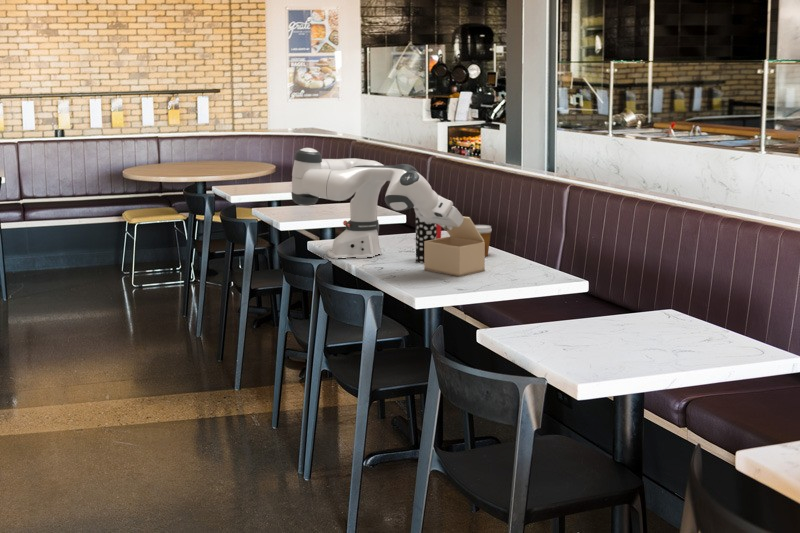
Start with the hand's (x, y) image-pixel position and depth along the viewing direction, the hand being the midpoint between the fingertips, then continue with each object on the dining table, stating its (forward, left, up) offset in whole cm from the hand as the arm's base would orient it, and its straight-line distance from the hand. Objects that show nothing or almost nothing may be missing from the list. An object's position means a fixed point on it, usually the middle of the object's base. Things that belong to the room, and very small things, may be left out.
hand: (448, 228), depth 362 cm
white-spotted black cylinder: (-2, +22, -17) cm, 28 cm away
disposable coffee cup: (+22, +26, -17) cm, 38 cm away
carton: (+3, +2, -16) cm, 17 cm away
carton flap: (+5, +3, 0) cm, 6 cm away
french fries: (+13, +59, -17) cm, 63 cm away
